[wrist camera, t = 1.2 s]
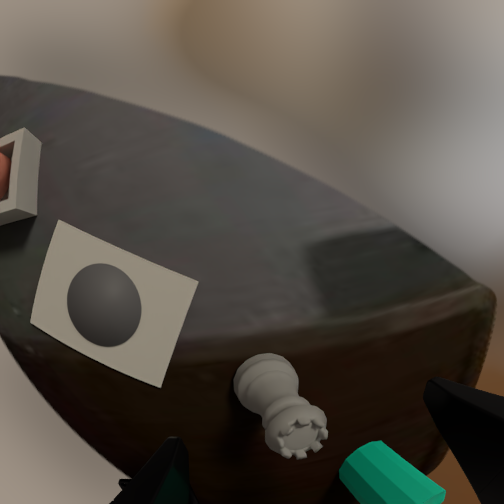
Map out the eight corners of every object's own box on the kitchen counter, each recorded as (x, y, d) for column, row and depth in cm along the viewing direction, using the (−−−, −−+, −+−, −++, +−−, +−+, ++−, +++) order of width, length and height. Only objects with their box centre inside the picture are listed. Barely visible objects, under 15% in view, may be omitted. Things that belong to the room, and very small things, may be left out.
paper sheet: (198, 281, 17) (198, 281, 17) (160, 386, 17) (160, 388, 16) (60, 220, 16) (58, 219, 15) (32, 321, 15) (29, 322, 14)
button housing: (37, 215, 15) (15, 208, 12) (-12, 229, 14) (-33, 224, 11) (41, 142, 15) (24, 127, 12) (-7, 162, 14) (-25, 151, 11)
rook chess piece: (285, 405, 18) (330, 467, 10) (227, 403, 17) (249, 474, 10) (298, 353, 19) (356, 399, 11) (237, 347, 18) (267, 402, 10)
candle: (346, 488, 19) (402, 551, 8) (331, 465, 19) (397, 541, 7) (390, 457, 20) (455, 508, 9) (381, 430, 20) (461, 488, 8)
